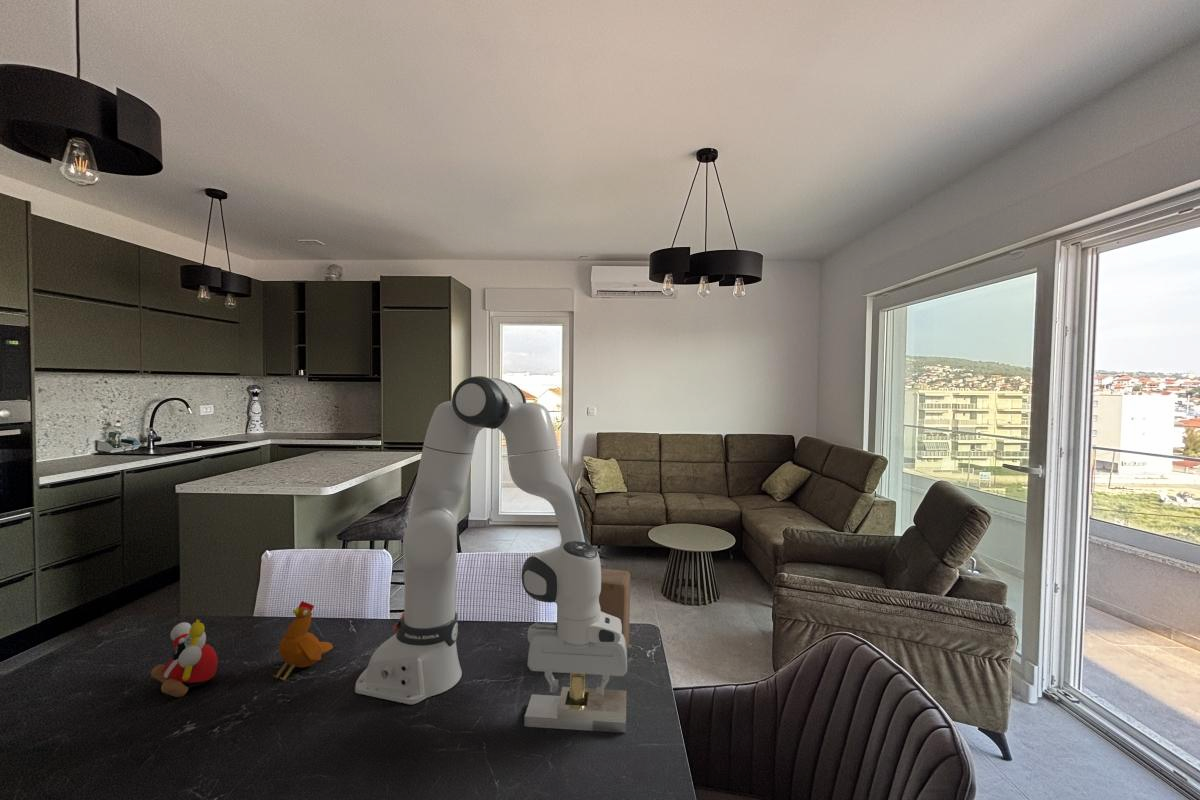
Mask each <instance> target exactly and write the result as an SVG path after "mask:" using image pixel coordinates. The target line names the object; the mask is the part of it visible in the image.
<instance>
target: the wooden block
mask: <svg viewBox="0 0 1200 800" xmlns="http://www.w3.org/2000/svg"><path fill="white" fill-rule="evenodd" d="M599 604H600V609H601V612H604V613H606V614H609V615H612V616H614V617H617V618H619V619H620V620H621V624H622V634H623V636H624V638H625V642H626V649H627V650H628V648H629V646H630V645H629V644H630V617H631V616H630V615H631V613H630V610H631V608H630V607H631V573H630V571H628V570H624V569H623V570H620V569H613V568H602V567H601V592H600V595H599Z"/></svg>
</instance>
